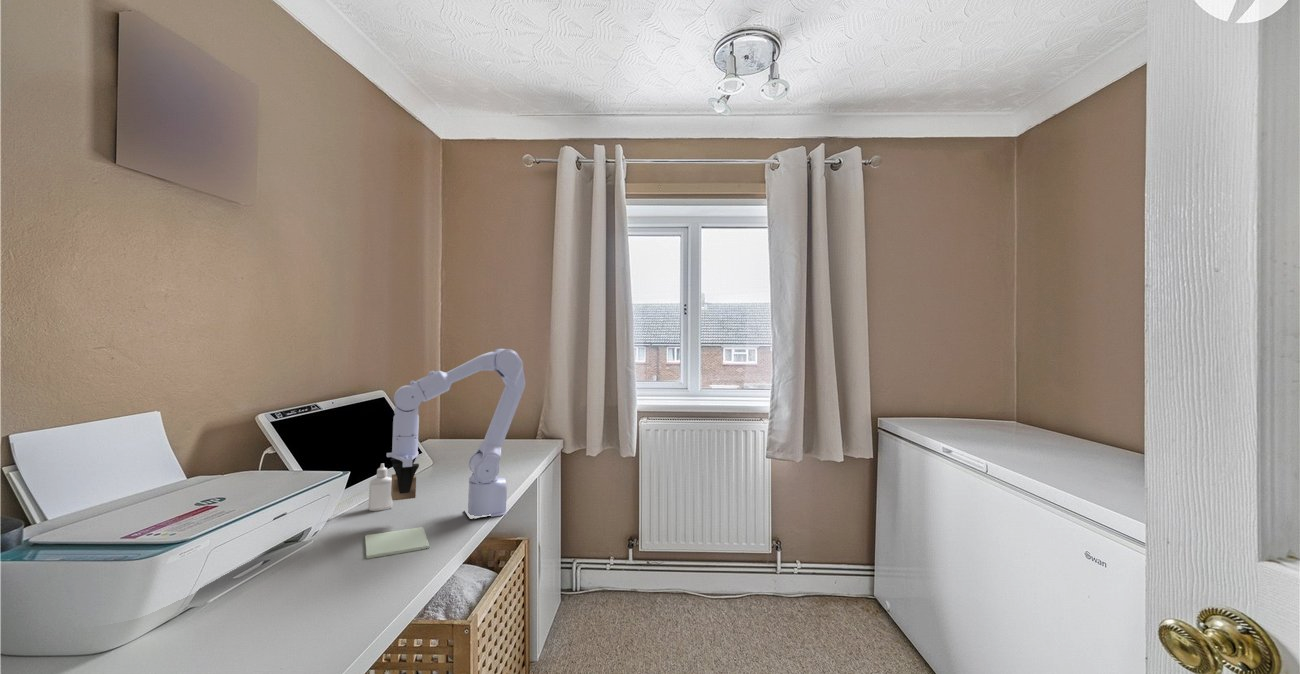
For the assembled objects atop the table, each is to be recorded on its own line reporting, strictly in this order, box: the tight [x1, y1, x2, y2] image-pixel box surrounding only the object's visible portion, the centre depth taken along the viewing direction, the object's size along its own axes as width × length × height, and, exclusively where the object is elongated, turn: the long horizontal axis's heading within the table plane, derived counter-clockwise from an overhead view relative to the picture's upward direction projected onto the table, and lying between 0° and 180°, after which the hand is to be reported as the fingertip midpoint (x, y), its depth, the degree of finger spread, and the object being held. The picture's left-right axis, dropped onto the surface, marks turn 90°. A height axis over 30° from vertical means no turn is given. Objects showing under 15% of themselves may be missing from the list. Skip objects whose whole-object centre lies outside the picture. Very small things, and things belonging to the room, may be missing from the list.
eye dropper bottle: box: [368, 462, 394, 512], centre depth 132 cm, size 4×6×12 cm
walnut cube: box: [391, 473, 417, 502], centre depth 122 cm, size 5×5×5 cm
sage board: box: [364, 526, 430, 560], centre depth 110 cm, size 12×12×1 cm
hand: (403, 489), depth 122 cm, fingers closed on walnut cube, 5 cm apart
